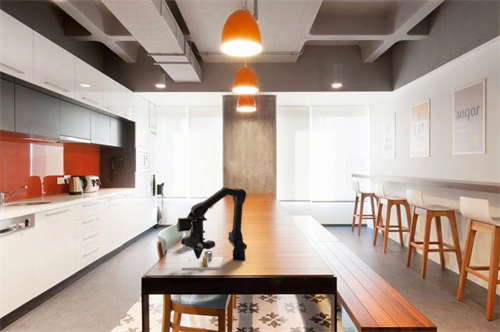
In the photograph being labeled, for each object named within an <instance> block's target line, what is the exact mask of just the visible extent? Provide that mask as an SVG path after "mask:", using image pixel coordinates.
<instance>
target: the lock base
mask: <svg viewBox="0 0 500 332" xmlns="http://www.w3.org/2000/svg"><path fill="white" fill-rule="evenodd" d="M223 263H224V256H222V257H221V256H217V257H215V256H214V257H213V256H212V260H210V261H209V263H208V266H203V257H200V258H199V259H197V258H196V257H188V258H187V259H186V261H185V262H184V264H183V266H182V270H183V271H184V270H185V271H186V270H189V271H190V270H222V267H223Z"/></svg>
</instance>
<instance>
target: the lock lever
mask: <svg viewBox="0 0 500 332" xmlns="http://www.w3.org/2000/svg"><path fill="white" fill-rule="evenodd" d="M212 257H213V252H212V251H211V250H206V251H204V256H202V258H203V266H208V263H209V261H210V260H212Z"/></svg>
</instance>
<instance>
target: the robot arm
mask: <svg viewBox="0 0 500 332" xmlns="http://www.w3.org/2000/svg"><path fill="white" fill-rule="evenodd" d="M227 196H230V197H232V200H233V201H232V202H233V205H234V206H233V220H232V230H231V231H229V232H228V239H227V240H228V241H229V243H230V245H232V247H233V250H232V260H233V261H235V262H236V261H246V249H247V247H248V245H247V244H246V243H245V242H244V239H243V238H244V236H243V233H242V221H243V220H242V219H243V205H244V203H245V201H246V197H247V192H246V191H245V189H243V188H237V187H236V188H234V189H233V188H230V187H225V186H222V188H220V190H218V191H217V192H215V193H214V194H212V195H211V196H210V197H208V198H206V199H205V200H204V201H201V202H198V203H195V204H194V205H192V206H191V208H190V212H189V213H188V215H187V217H179V218H177V223H176V230H177V232H178V233H181V232H182V233H183V232H185V231H190V229H191V228H192V232H191V233H190V236H189V237H185V238H183V237H182V239H181V240H180V245H182V246H183V245H185V247H190V248H192V249H191V250H193V252H194V255H195V258H197V259H199V258H201V255H202V253H203V251H204V250H211V249H213V248H215V247H216V242H215V240H210V239H209V240H206V238H205V237H204V234H205V232H206V230H204V222H206V221H208V219H207V218H206V217H205V216H204V215H205V214H207V212H208V210H209V209H210V208H211V207H212V206H214V205H215V204H216V203H219V202H220V201H221V200H222V199H224V198H225V197H227Z"/></svg>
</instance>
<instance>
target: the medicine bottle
mask: <svg viewBox="0 0 500 332" xmlns="http://www.w3.org/2000/svg"><path fill="white" fill-rule="evenodd" d="M184 232H185V235H183V236H182V239H183V238H185V237H189V236H190V233H191V232H192V228H191V229H190V231H184ZM182 248H184V249H188V250H193V249H192V248H190V247H185V245H183V244H182Z"/></svg>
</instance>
